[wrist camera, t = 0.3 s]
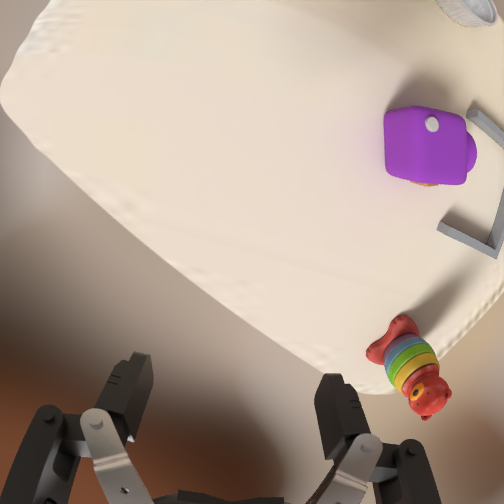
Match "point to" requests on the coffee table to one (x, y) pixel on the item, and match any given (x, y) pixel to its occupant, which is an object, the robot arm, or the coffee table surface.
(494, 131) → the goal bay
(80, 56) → the coffee table surface
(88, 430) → the robot arm
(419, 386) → the stacking bear
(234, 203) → the coffee table surface
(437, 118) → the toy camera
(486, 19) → the ramekin
